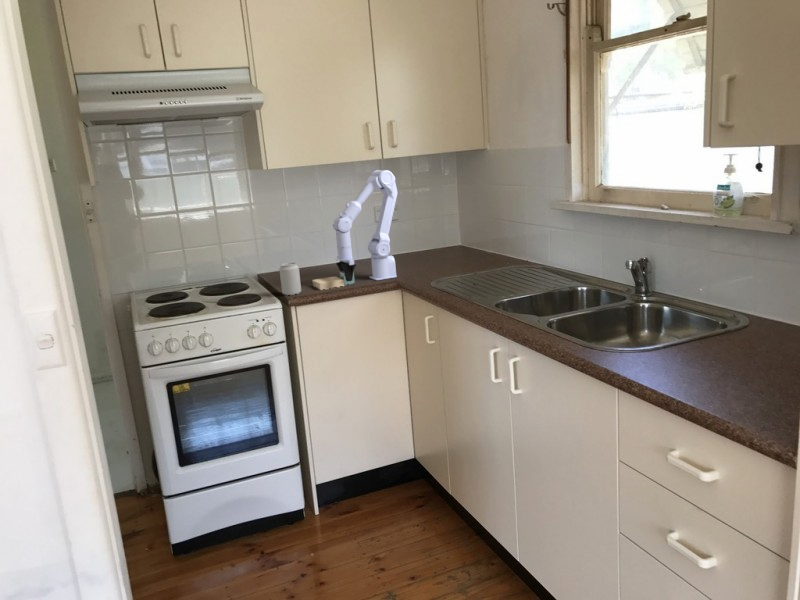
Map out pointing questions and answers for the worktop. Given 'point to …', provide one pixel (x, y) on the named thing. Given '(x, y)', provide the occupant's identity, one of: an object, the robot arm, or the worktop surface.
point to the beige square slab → (328, 283)
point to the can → (290, 279)
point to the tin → (343, 277)
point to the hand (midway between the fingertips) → (347, 280)
